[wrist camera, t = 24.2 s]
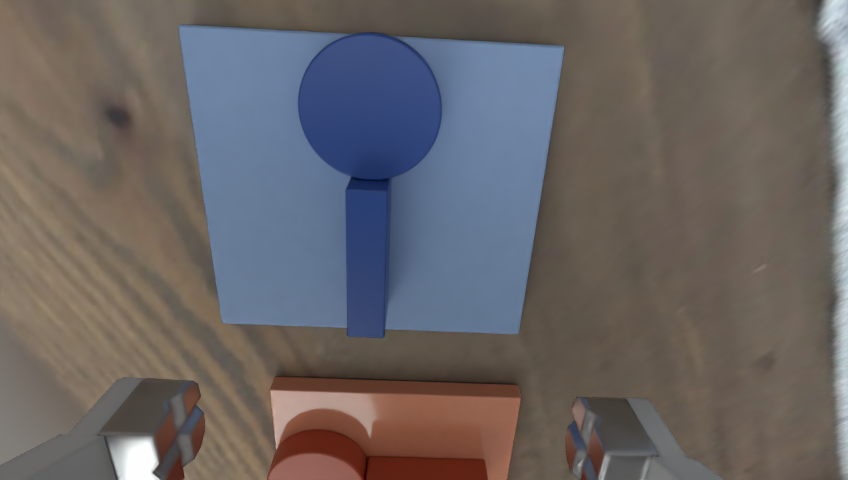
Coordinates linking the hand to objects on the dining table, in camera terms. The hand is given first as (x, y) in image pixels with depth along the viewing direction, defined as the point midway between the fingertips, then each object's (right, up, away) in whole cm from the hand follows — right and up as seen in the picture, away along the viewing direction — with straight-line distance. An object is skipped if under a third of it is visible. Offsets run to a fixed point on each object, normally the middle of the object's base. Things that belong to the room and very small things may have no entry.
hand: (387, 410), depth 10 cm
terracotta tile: (0, -6, +11) cm, 12 cm away
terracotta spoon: (-1, -6, +10) cm, 12 cm away
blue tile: (-1, +5, +6) cm, 8 cm away
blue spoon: (-1, +5, +5) cm, 7 cm away
